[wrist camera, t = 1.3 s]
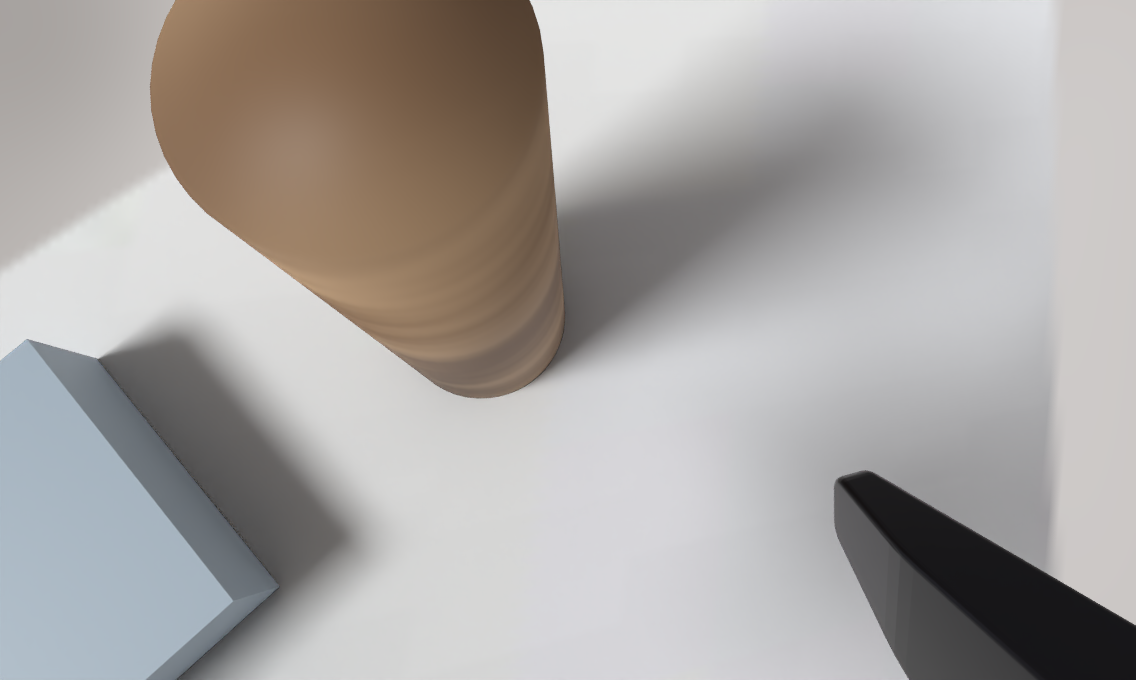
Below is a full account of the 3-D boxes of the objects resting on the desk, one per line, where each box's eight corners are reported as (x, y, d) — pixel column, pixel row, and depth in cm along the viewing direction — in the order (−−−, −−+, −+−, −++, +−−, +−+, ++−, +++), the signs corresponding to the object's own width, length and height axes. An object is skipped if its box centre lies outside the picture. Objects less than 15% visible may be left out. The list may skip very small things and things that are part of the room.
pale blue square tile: (279, 586, 22) (233, 600, 19) (20, 819, 21) (-71, 872, 18) (96, 358, 23) (27, 338, 20) (-156, 565, 22) (-267, 576, 19)
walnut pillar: (598, 321, 23) (626, 77, 10) (475, 433, 23) (316, 343, 9) (490, 207, 24) (372, -169, 10) (368, 312, 24) (71, 60, 10)
